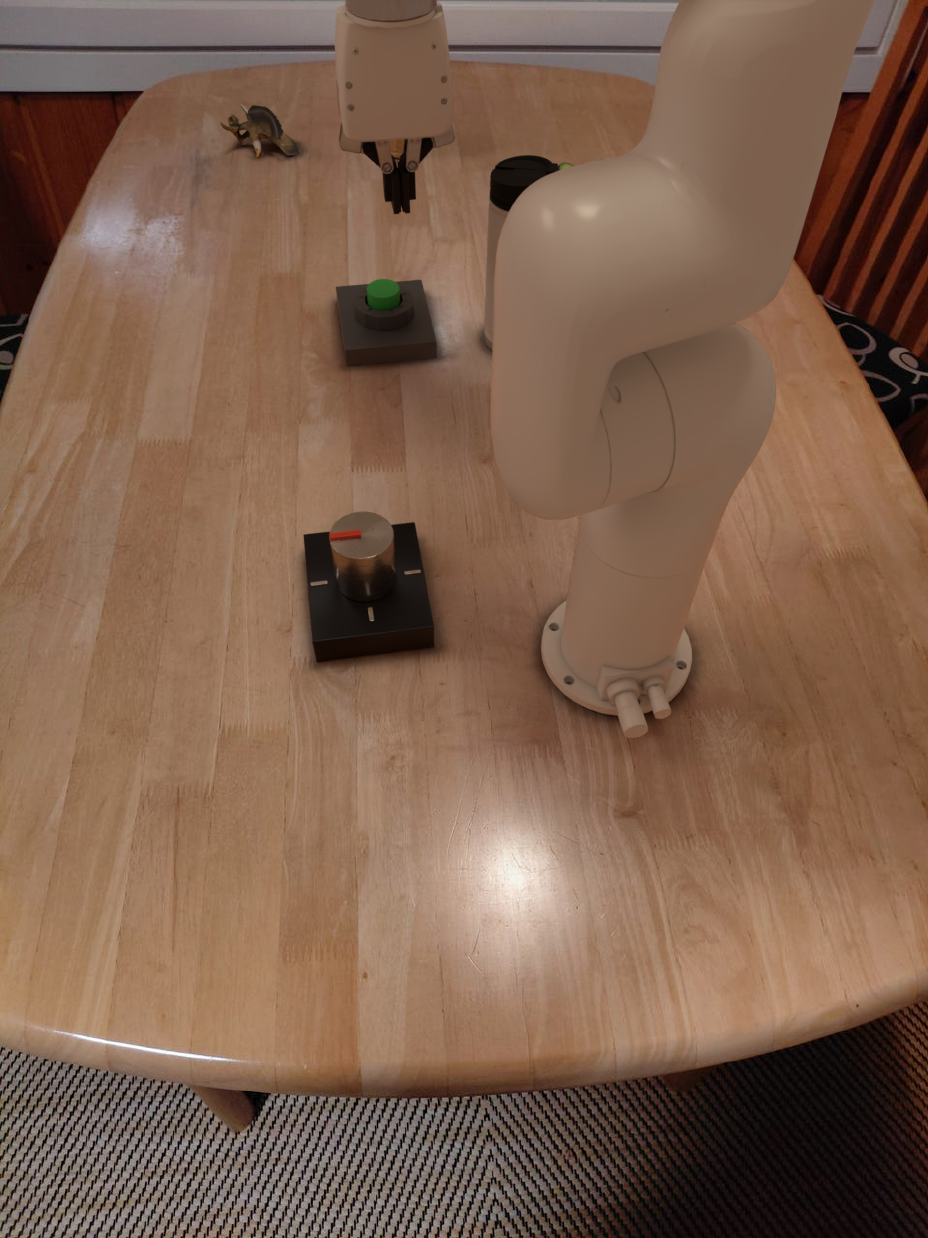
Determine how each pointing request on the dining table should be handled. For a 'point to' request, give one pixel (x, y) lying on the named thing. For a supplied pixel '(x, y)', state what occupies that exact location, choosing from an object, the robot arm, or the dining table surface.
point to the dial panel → (368, 604)
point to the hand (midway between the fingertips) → (400, 206)
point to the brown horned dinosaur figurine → (261, 129)
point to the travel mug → (503, 194)
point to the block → (385, 326)
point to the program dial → (363, 556)
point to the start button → (383, 294)
